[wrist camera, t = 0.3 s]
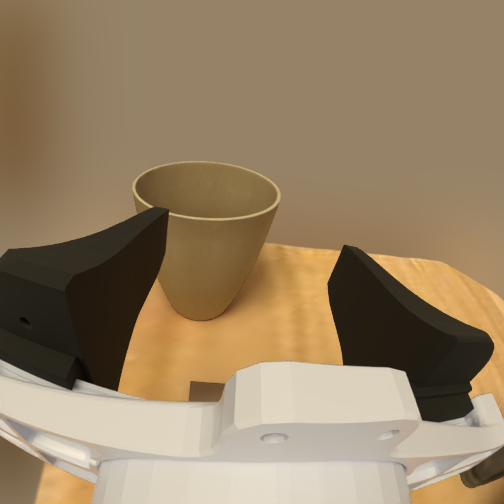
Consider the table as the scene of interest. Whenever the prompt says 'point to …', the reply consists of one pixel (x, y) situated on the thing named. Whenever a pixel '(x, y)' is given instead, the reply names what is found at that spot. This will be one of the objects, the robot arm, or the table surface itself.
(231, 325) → the table surface
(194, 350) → the table surface
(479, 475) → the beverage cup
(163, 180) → the plant pot
